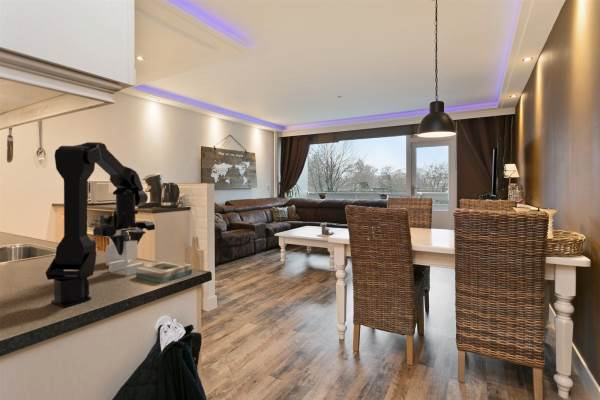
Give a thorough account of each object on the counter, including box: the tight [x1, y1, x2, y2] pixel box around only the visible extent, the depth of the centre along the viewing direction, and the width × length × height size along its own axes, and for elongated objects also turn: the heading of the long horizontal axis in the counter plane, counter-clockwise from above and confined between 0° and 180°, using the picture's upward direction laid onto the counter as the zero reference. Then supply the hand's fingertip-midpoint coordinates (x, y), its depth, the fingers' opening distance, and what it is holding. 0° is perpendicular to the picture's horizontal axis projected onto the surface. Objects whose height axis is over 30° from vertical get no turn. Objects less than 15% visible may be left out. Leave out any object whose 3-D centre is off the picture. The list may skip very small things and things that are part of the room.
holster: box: [108, 260, 145, 277], centre depth 110 cm, size 6×10×3 cm, turn 63°
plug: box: [115, 233, 138, 261], centre depth 110 cm, size 4×6×8 cm, turn 63°
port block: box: [135, 259, 193, 284], centre depth 106 cm, size 12×12×3 cm
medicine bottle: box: [105, 231, 132, 267], centre depth 121 cm, size 7×7×12 cm
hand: (126, 253), depth 110 cm, fingers closed on plug, 4 cm apart
